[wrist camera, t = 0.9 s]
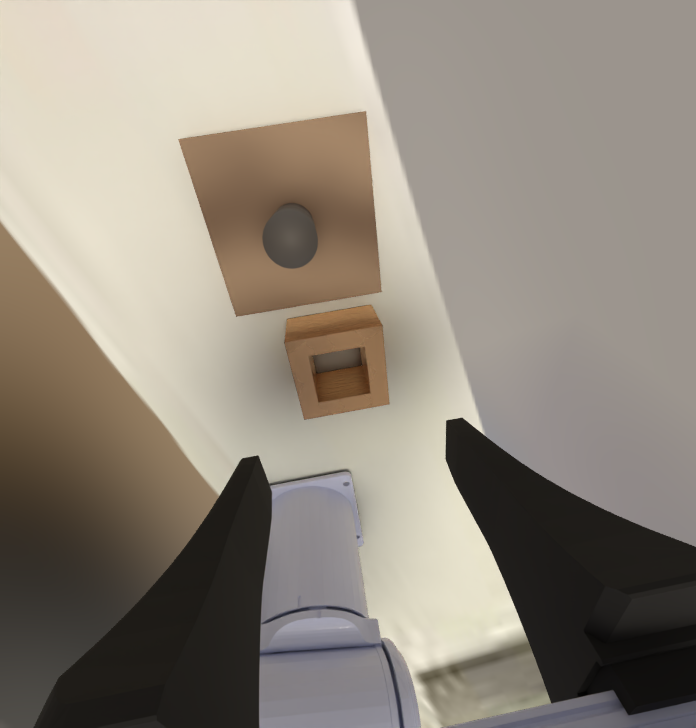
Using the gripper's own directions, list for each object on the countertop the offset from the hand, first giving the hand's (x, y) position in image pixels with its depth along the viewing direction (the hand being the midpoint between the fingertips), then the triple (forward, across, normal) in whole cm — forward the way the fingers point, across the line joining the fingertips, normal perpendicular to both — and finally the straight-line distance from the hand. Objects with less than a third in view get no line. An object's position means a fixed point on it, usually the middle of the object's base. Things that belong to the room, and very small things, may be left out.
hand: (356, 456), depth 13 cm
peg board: (+9, +1, -8) cm, 12 cm away
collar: (+9, 0, 0) cm, 9 cm away
